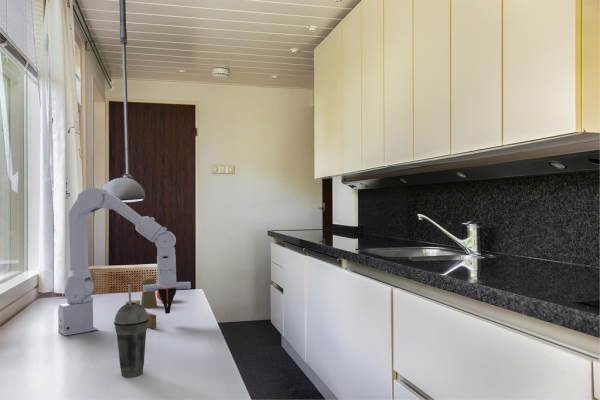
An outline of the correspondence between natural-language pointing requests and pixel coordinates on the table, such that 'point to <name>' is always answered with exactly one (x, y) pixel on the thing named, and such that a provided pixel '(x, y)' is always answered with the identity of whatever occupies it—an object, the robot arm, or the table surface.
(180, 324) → the table surface
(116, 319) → the beverage cup
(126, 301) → the light wood block
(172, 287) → the clementine
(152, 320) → the tong arm
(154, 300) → the cork
